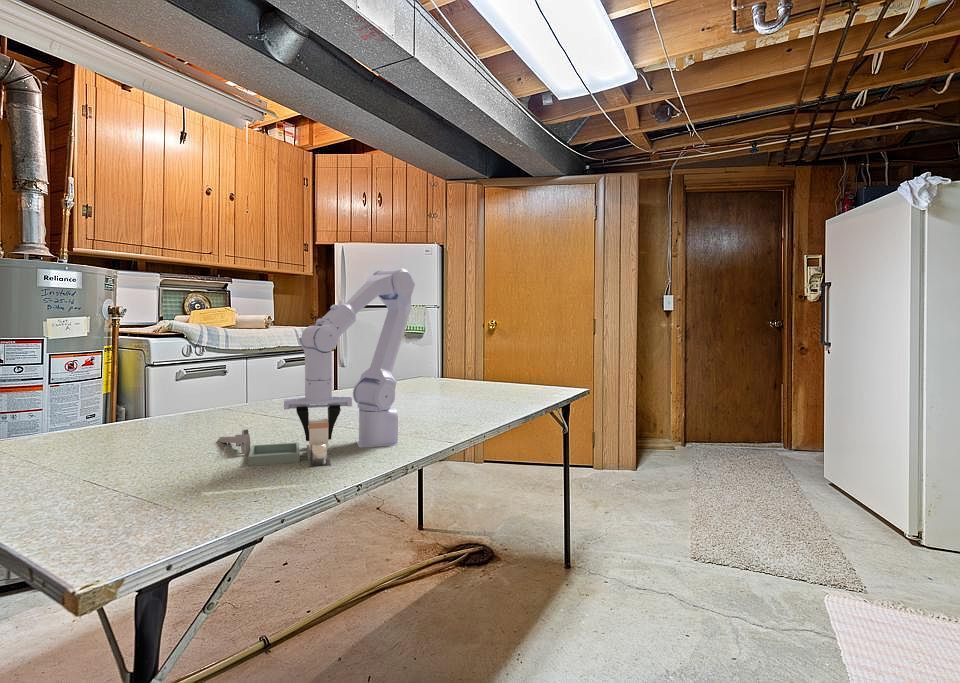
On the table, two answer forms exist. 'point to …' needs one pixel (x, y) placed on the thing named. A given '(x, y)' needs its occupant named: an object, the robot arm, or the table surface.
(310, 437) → the beige and orange block
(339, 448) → the table surface
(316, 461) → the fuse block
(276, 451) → the tray
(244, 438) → the caliper
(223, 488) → the table surface
